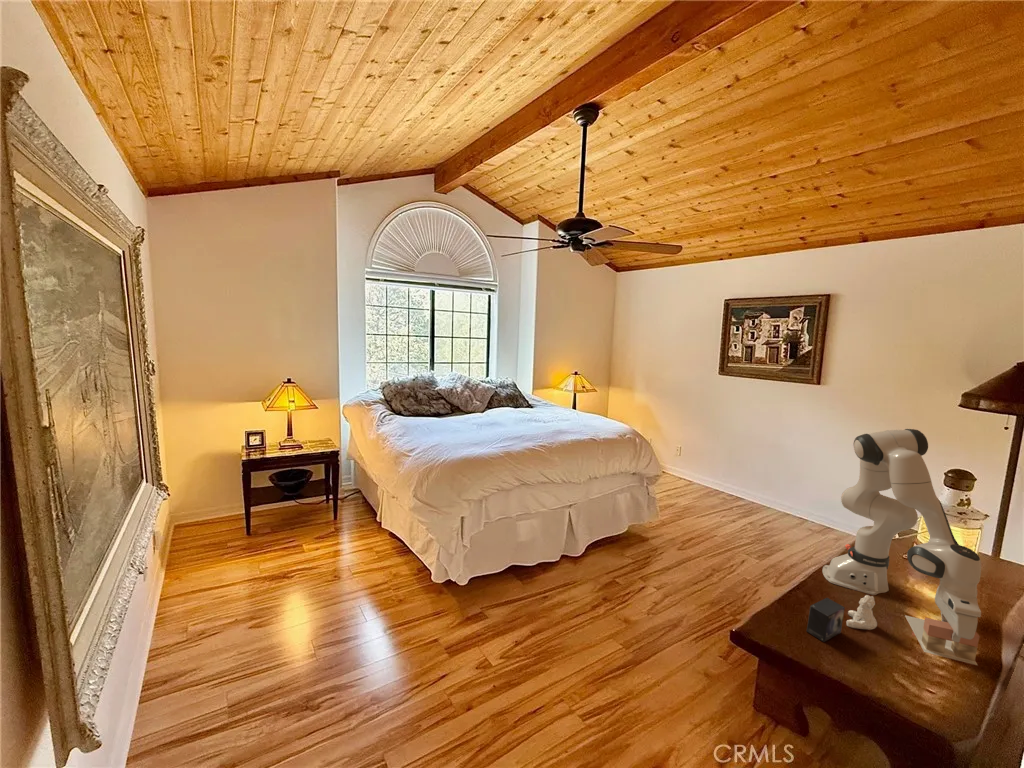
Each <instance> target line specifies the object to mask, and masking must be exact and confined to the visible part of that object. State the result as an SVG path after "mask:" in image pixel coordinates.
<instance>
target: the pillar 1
mask: <svg viewBox="0 0 1024 768" xmlns="http://www.w3.org/2000/svg"><path fill="white" fill-rule="evenodd" d="M922 642H923V644H924V646H925V648H926V649H927V650H931V651H935V652H939V653H943V654H944V650H945V644H946V640H945V639H941V638H937V637H933V636H929V635H927V633H926V632H925V630H923V636H922Z"/></svg>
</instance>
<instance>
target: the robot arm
mask: <svg viewBox="0 0 1024 768" xmlns="http://www.w3.org/2000/svg"><path fill="white" fill-rule="evenodd" d="M853 450H854V453H855V455H856V457H857V458H859V476H858V477H859V478H858V481H857V483H856V484H855V485H853V486H851V487H848V488H846V489H845V490H844V491H843V492H842V494H841V496H840V497H841V498H840V503H841V505H842V506H843V508H845V509H846V510H848V511H849V512H851V513H853V514H855V515H858V516H860V517H863V518H865V519H868V520H871V521H872V522H873V525H867V526H862V527H860V528H858V529H857V531H856V535H855V542H854V546H852V545H851V544H849V543H847V544H845V546H844V547H845V549H846V550H847V553H845V554H842V555H838V556H836V557H833V558H832V559H831V561H830V562H829V564H825V565H823V566H822V570H821V571H822V574H823V577H824V578H825V579H826V581H828V582H829V583H831V584H834V585H836V586H840V587H843V588H846V589H850V590H854V591H858V592H861V593H865V594H867V595H871V596H877V595H878V594H881V593H883V594H884V593H887V592H889V590H890V589H889V588H890V587H889V583H888V568H889V566H890V556H889V555H890V554H889V553H890V549H891V544H892V541H893V539H894V537H895V536H897V534H899V533H901V532H903V531H907V530H910V529H913V528H914V527H916V525H917V523H918V520H919V519H918V518H919V517H918V513H920V515H921V516H922V518H923V521H924V524H925V526H926V529H927V530H926V531H928V534H929V539H928V542H924V543H920V544H917V545H914V546H911V547H910V548H908V550H907V552H906V557H907V561H908V563H909V565H910V566H911V567H912V568H913V569H914V570H915V571H917V572H918V573H920V574H923V575H926V576H928V577H931V578H935V579H939V585H938V587H937V588H936V592H935V595H934V603H935V605H936V606H937V608H938V609H939V610H940V616H941V620H940V621H943V622H948V623H949V624H950V626H951V627H952V629H953V631H954V632H953V634H952V633H951V639H952V640H953V641H954V642H960V638H965V639H970V640H971V639H973V638H974V635H975V632H977V628H978V623H979V622H978V618H981V616H982V611H981V609H980V606H979V604H978V598H977V597H978V586H977V585H978V584H979V582H980V580H981V575H982V560H981V558H980V556H979V554H978V553H977V552H975V551H973V550H972V549H971V548H969V547H966V546H964V545H961V544H959V542H957V540H956V538H955V537H954V534H953V531H952V529H951V526H950V523H949V522H950V521H949V520H948V517H947V514H946V512H945V508H944V507H943V504H942V503H941V501H940V499H939V498H938V496H937V494H936V492H935V489H934V486H933V482H932V479H931V474H930V472H929V470H928V467H927V464H926V462H925V460H924V458H923V457H922V456H924V455H926V454H927V452H928V450H929V442H928V439H927V437H926V436H925V434H924V433H923V432H921V430H918V429H914V428H913V429H912V428H905V429H887V430H883V431H877V432H872V433H871V432H870V433H864V434H861V435H858V436H856V437H855V438H854V440H853ZM888 490H892V493H893V495H894V497H895V498H893V497H889V496H886V495H883V494H881V493H880V492H883V491H888ZM917 511H918V512H917Z"/></svg>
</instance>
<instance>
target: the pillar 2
mask: <svg viewBox="0 0 1024 768" xmlns="http://www.w3.org/2000/svg"><path fill="white" fill-rule="evenodd" d="M951 649H952V650H953V652H954V654H955V655H956V657H959V658H963V659H967V660H971V661H976V657H977V656H976V655H977V651H978V647H974V646H970V645H966V644H962V643H958V642H954V641H952V645H951Z"/></svg>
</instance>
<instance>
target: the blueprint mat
mask: <svg viewBox="0 0 1024 768" xmlns="http://www.w3.org/2000/svg"><path fill="white" fill-rule="evenodd" d="M904 617H905V618H906V620H907V622H908V624H909V626H910V628H911V630H912V632H913V634H914V636H915V637H916V639H917V641H918V643H919V645H920V647H921V649H922V650H923V652H924V653H928V654H931V655H934V656H939V657H942V658H947V659H950V660H951V659H952V660H955V661H959V662H964V663H966V664H970V665H975V666H979V665H978V663H977V662H976V660H975V661H971V660H967V659H963V658H959V657H956V655H955V654H954V652H953V650H952V649H951V645H952V641H949V640H946V644H945V650H944V654H943V653H939V652H935V651H931V650H927V649H926V648H925V646H924V644H923V642H922V636H923V630H924V628H923V627H924V621H925V619H923V618H920V617H914V616H909V615H906V614H905V615H904Z"/></svg>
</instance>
